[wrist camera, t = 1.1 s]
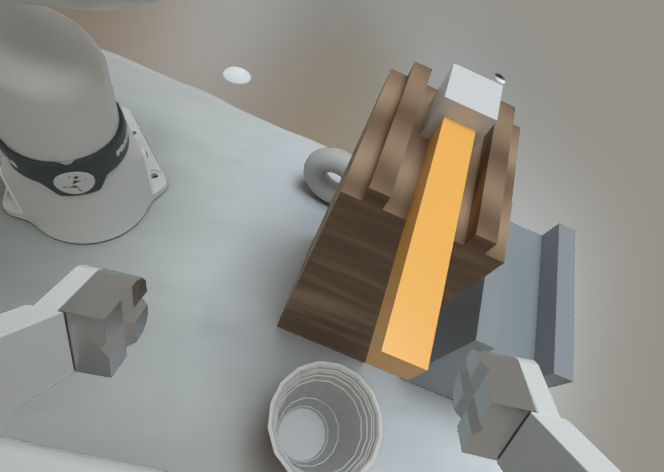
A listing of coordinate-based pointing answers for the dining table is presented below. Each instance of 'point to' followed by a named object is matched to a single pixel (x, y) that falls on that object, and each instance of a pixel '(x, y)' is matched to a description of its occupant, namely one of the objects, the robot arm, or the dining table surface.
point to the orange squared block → (432, 223)
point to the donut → (325, 170)
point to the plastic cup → (325, 420)
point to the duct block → (512, 312)
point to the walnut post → (397, 219)
